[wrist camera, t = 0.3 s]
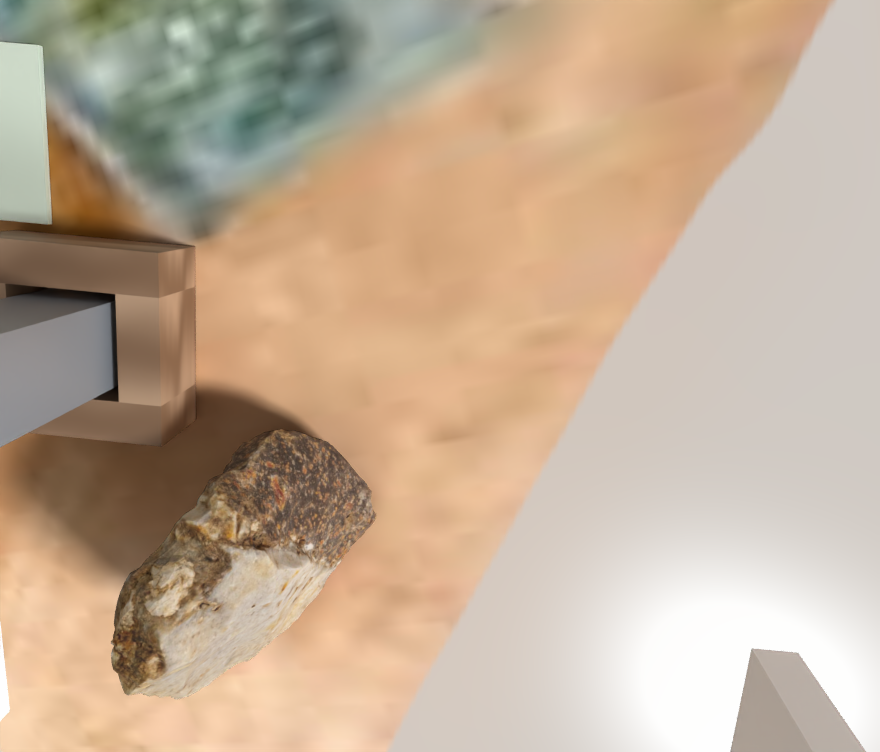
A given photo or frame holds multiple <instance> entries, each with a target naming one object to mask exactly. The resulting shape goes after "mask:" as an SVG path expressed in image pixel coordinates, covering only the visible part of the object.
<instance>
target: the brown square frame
mask: <svg viewBox="0 0 880 752" xmlns="http://www.w3.org/2000/svg"><path fill="white" fill-rule="evenodd" d="M49 288H58V289H68V290H79V291H89V292H100V293H110V294H115V300H116V331H117V361H118V386H117V387H115V388H113V389H111V390H109V391H107V392H105V393H103V394H101V395H99V396H97V397H96V398H94V399H92V400H90V401H88V402H86V403H84V404H82V405H80V406H78V407H76V408H74V409H73V410H71V411H69V412H67V413H65V414H63V415H61V416H59V417H57V418H55V419H53V420H52V421H50V422H48V423H46V424H44V425H42V426H40V427H38V428H36V429H34V430H32V431H30V432H29V433H35V434H44V435H54V436H64V437H73V438H83V439H93V440H102V441H112V442H122V443H131V444H141V445H151V446H160V447H162V446H163V445H164V444H165V443H167V442H168V441H169V440H171V439H172V438H173V437H174V436H176V435H177V434H178V433H180V432H181V431H182V430H183V429H185V428H186V427H187V426H189V425H190V424H191V423H192V422H194V421H195V420H196V321H195V247H194V246H183V245H173V244H162V243H151V242H140V241H129V240H119V239H108V238H97V237H86V236H76V235H65V234H54V233H43V232H32V231H22V230H12V231H0V299H3V298H7V297H12V296H17V295H21V294H26V293H31V292H35V291H40V290H45V289H49Z"/></svg>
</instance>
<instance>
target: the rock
mask: <svg viewBox="0 0 880 752" xmlns="http://www.w3.org/2000/svg"><path fill="white" fill-rule="evenodd" d="M375 519H376V514H375V512H374V511H373V509H372V504H371V490H370V489H369V488H368V486H367V484H366V483H365V482H364V481H363V480H362V479H361V478H360V477H359V476H358V474H357V473H356V472H355V471H354V470H353V468H352V467H351V466H350V464H349V463H348V462H347V461H346V460H345V458H344V457H343V456H342V455H341V454H340V453H339V452H338V451H337V450H336V449H335V448H334V447H333V446H332V445H330V444H329V443H328V442H326V441H323V440H320V439H317V438H313V437H310V436H308V435H306V434H304V433H300V432H298V431H295V430H291V431H287V430H283V429H279V430H275V431H269V432H265V433H263V434H261V435H258V436H256V437H255V438H254V439H253V440H251V441H249V442H245V443H243V444H242V445H241V447H240V448H239V449H238V450H237V451H236V452H235V453H234V454H233V456H232V461H231V462H230V463H229V464H228V465H227V466H226V468H225V470H224V472H223V474H221V475H219V476H216V477H214V478H212V479H210V480H209V482H208V484H207V486H206V488H205V490H204V492H203V493H202V495H201V496H200V497H199V498H198V501H197V505H196V507H195V508H194V509H192V510H191V511H189V512H187V513H186V514H184V515H183V516H182V517H181V518H180V520H179V521H178V522H177V523H176V524H175V525H174V527H173V529H172V531H171V532H170V534H169V535H168V537H167V538H166V540H165V541H164V542H163V543H162V545H161V546H160V547H159V548H158V549H157V550H156V552H154V553H153V554H152V555H151V556H150V557H149V558H148V559H147V560H146V561H145V562H144V563H143V565H142V566H141V567H140V568H138V569H137V570H135V571H133V572H131V573H130V574H129V576H128V578H127V579H126V581H125V583H124V585H123V587H122V590H121V592H120V595H119V598H118V601H117V606H116V611H115V619H114V626H115V631H114V634H113V640H112V641H111V644H113V645H114V647H113V649H112V653H111V659H112V666H113V670H115V671H116V672H117V673H118V675H119V679H120V682H121V685H122V688H123V690H124V693H125V694H127V695H134V694H140V693H143V695H147V696H154V695H155V696H158V697H169V696H171V698H174V699H181V698H184V697H188V696H190V695H192V694H194V693H195V692H197V691H199V690H200V689H201V688H202V687H205V686H208V685H209V684H210V683H211V682H212V681H213V680H215V679H216V678H217V677H219V676H220V675H221V674H223V673H224V672H225V671H226V670H228V669H230V668H231V667H233V666H234V665H236V664H238V663H241V662H245V661H249V660H250V659H252V658H253V657H254V656H256V655H257V654H258V653H259V651H260V650H261V649H262V648H264V647H265V646H266V645H268V644H269V643H270V642H271V641H272V640H273V639H274V638H276V637H277V636H278V635H280V634H281V633H283V632H284V631H285V630H287V629H288V628H289V627H290V626H291V625H292V623H293V622H294V621H296V620H297V619H298V618H299V617H300V615H301V614H302V612H303V611H304V609H305V608H306V607H307V605H309V604H310V603H311V602H312V601H313V600H314V599H315V598H316V597H317V596H318V594H319V593H320V591H321V590H322V588H323V587H324V584H325V582H326V580H327V578H328V577H329V575H330V574H331V573H332V572H333V571H334V570H335V569H336V567H337V565H338V564H339V563H340V562H341V561H342V558H343V556H344V555H345V554H346V553H347V552H348V551H349V549H350V547H351V546H352V545H353V544H354V543H355V542H356V541H357V540H358V539H359V538H360V537H361V536H362V535H363V534H364V532H365V531H366V530H367V529H368V528H369V527H370V526H371V524H372V523H373V522H374V521H375Z"/></svg>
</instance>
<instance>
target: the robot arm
mask: <svg viewBox="0 0 880 752" xmlns="http://www.w3.org/2000/svg"><path fill="white" fill-rule="evenodd" d="M9 711H10V707H9V698H8V689H7V679H6V670H5V661H4V652H3V643H2V633H1V624H0V721H1V720H2V719H3V717H4V716H5V715H6V714H7V713H8V712H9ZM731 752H866V751H865V750H864V748H863V747H862V746H861V744H860V742H859V741H858V740H857V738H856V737H855V735H854V734H853V732H852V731H851V729H850V728H849V726H848V725H847V723H846V722H845V721H844V719H843V718H842V716H841V715H840V713H839V712H838V710H837V709H836V707H835V706H834V705H833V703H832V702H831V700H830V699H829V697H828V696H827V694H826V693H825V691H824V690H823V689H822V687H821V686H820V684H819V683H818V681H817V680H816V679H815V677H814V675H813V674H812V673H811V671H810V670H809V668H808V667H807V665H806V664H805V662H804V661H803V659H802V658H801V657H800V655H799V654H798V653H793V652H783V651H771V650H761V649H752V650H751V654H750V660H749V664H748V669H747V674H746V679H745V684H744V688H743V693H742V698H741V703H740V708H739V713H738V718H737V723H736V727H735V733H734V737H733V742H732V747H731Z"/></svg>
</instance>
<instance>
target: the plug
mask: <svg viewBox="0 0 880 752" xmlns="http://www.w3.org/2000/svg"><path fill="white" fill-rule="evenodd" d="M117 386H118V361H117V331H116V300H115V294H110V293H100V292H89V291H79V290H68V289H58V288H49V289H45V290H40V291H35V292H31V293H26V294H21V295H17V296H12V297H7V298H3V299H0V447H2V446H4V445H6V444H7V443H9V442H11V441H13V440H15V439H17V438H19V437H21V436H23V435H25V434H27V433H29V432H30V431H32V430H34V429H36V428H38V427H40V426H42V425H44V424H46V423H48V422H50V421H52V420H53V419H55V418H57V417H59V416H61V415H63V414H65V413H67V412H69V411H71V410H73V409H74V408H76V407H78V406H80V405H82V404H84V403H86V402H88V401H90V400H92V399H94V398H96V397H97V396H99V395H101V394H103V393H105V392H107V391H109V390H111V389H113V388H115V387H117Z"/></svg>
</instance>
